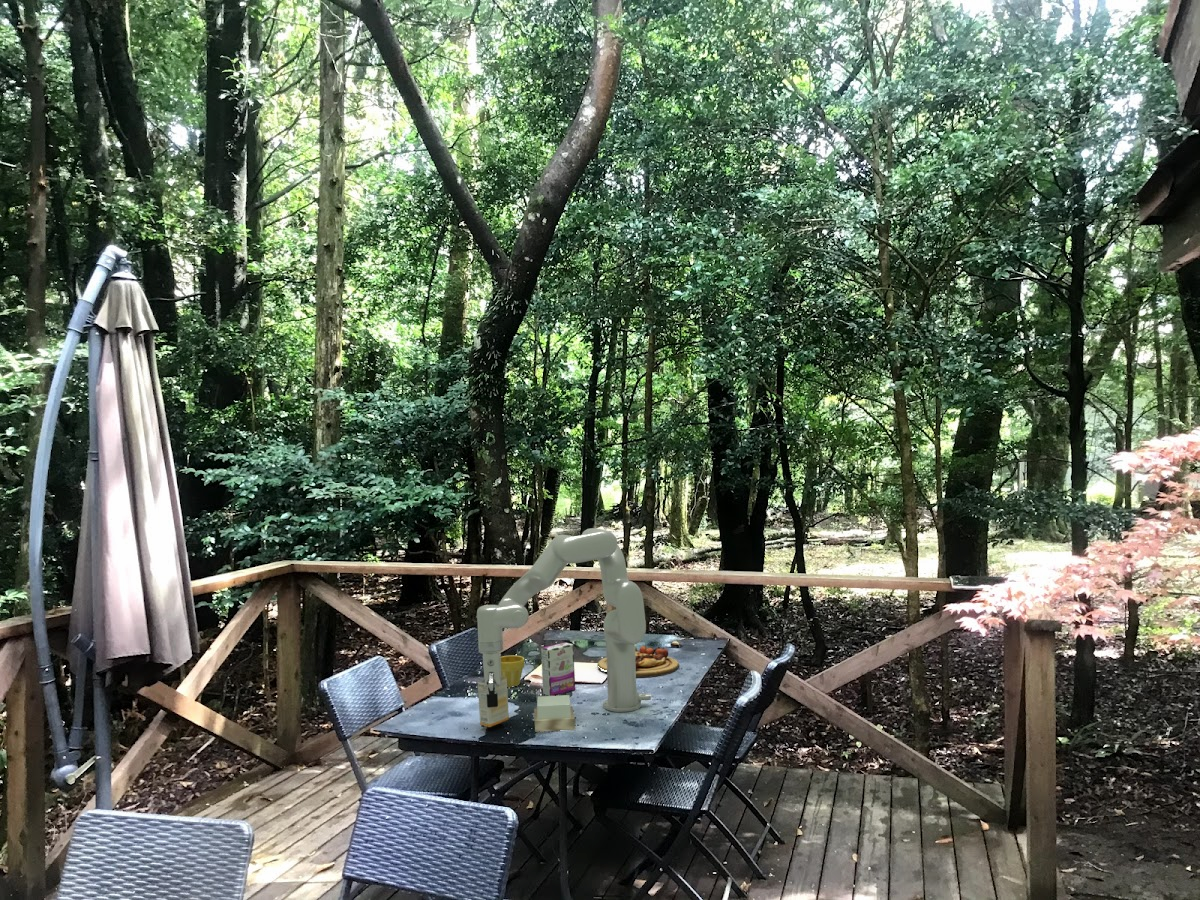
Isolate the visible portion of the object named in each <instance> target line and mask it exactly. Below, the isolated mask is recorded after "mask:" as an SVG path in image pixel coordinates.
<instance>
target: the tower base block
mask: <svg viewBox="0 0 1200 900" xmlns="http://www.w3.org/2000/svg"><path fill="white" fill-rule="evenodd" d="M570 712H571V718H562V719H541V720H538V719H537V707H535V708H534V709H533V714H534V715H533V717H534V718H533V719H534V720H533V721H535V722H534V733H535V732H539V731H541V732H539V733H545V732H544V731H555V732H561V731H560V730H571V731H575V730H576V719H575V714H574V708H573V706H571V705H570ZM574 729H575V730H574Z"/></svg>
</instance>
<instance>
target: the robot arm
mask: <svg viewBox="0 0 1200 900" xmlns="http://www.w3.org/2000/svg"><path fill="white" fill-rule="evenodd" d="M595 560H596V561H598V564H599V568H600V569H599V570H600V576H601V584H602V592H603V593H602V594H603V599H604V601H605V602H606V604H608V605H609V606H611V607H614V608H615V609H612V610H610V611H609V612H608V613H607V614H606V615H605V617H604V621H603V634H604V639H605V646H606V647H605V651H606V657H607V673H606V677H607V679H606V680H607V681H606V682H607V683H606V684H607V699H606V700H604V701H603V702H602V703H603V704H602V706H603V709H605V710H607V711H610V712H616V713H625V712H633V711H636V710H639V709H640V708H642V701H651V700H652V696H651V695H652V694H650V693H648V694H647V693H646V692H643V693H642V692H641V693H639V692H638V690H637V677H636V662H635V659H636V657H635V647H636V645H638V644H639V643H640V642H641V641H642V640H643V639H644V637H645V635H646V632H647V631H646V630H647V621H646V613H645V605H644V604H645V603H644V596H643V593H642V590H641V589H640V587H639V586H638V585H637V584H636V582H633V581H632V580H629V578H628V570H627V566H626V565H627V564H626V559H625V555H624V553H623V550H622V549H621V547H620V546H619V544H618V540H617V537H616V535H615V534H614V533H613V532H611V531H609V530H606V529H601V528H597V527H596V528H594V527H592V528H587V529H585V530H583V531H582V534H580V535H568V534H559V535H555V536H554V538H553V539H552V540H551V541H550V542H549V543H548V545H547V546H546V548H545V549H544V550H543V551H542V553H541V554H540V556H539V557H538V558H537V559H536V561H535V562H534V564H533V565H532V566H531V567H530V569H529V570H527V572H525V573H524V574H523V575H522V576H521V577H520V578H519V579H517V580H516V581H515V582H514V584H513V585H512V586H511V587H510V588H509V589H508V590H507V592H506V593H505V594H504V596H503V597H502V599H500V601H499V602H498V604H485V605H481V606H479V607H478V608H477V611H476V616H477V617H476V620H477V640H478V641H477V642H478V644H477V645H478V653H480V654H482V666H483V667H482V669H483V680H485V685H486V686H487V707H488V708H490V707H498V694H497V689H496V686H497V685H496V684H499V685H501V680H502V674H501V657H502V656H501V652H503V651H504V638H503V637H504V636H503V634H504V633H503V629H519V628H522V627H524V626H525V625H526V624H527V623H528V621H529V611H528V609H527V608H526V604H527V603H528V602H529V601H530V599H531V598H533V597H534V596H535V595H536V594H538V593H540V592H541V591H544V590H547V589H548V588H550V587H552V585H553V584H554V583H555V581H557V579H558V577H559V576H560V574H561V573H562V572H563V570H564V569H565V568H566V566H567V565H568V564H579V563H580V564H581V563H586V562H590V561H595ZM494 686H495V688H494Z"/></svg>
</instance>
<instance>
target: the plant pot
mask: <svg viewBox="0 0 1200 900" xmlns="http://www.w3.org/2000/svg"><path fill="white" fill-rule="evenodd" d="M524 668H525V657H524V656H521V655H512V654H511V655H509V654H508V655H504V656H501V674H502V677H505V678H507V687H512V686H516V685H519V684H520V683H521V678H522V674H523V669H524ZM519 686H520V685H519Z"/></svg>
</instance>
